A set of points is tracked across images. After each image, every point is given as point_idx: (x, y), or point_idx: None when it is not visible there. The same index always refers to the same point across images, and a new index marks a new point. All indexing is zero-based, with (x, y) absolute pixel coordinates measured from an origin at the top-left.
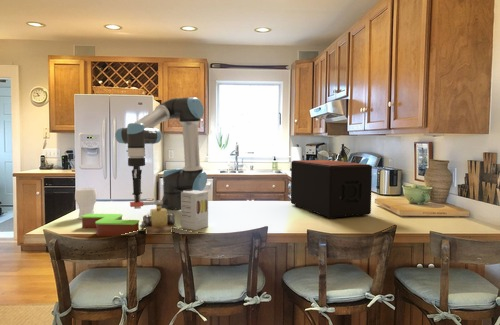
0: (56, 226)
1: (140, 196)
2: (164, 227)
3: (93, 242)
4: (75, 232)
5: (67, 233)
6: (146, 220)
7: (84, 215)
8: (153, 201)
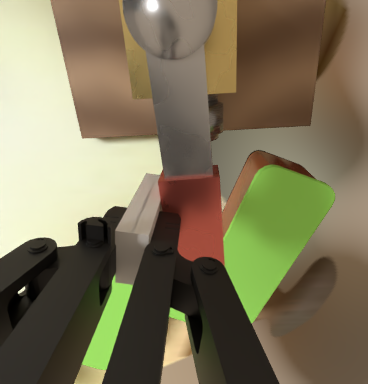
0: (85, 377)
1: (129, 218)
2: (269, 5)
3: (327, 293)
4: (173, 338)
5: (180, 353)
6: (222, 121)
7: (92, 362)
8: (166, 72)
